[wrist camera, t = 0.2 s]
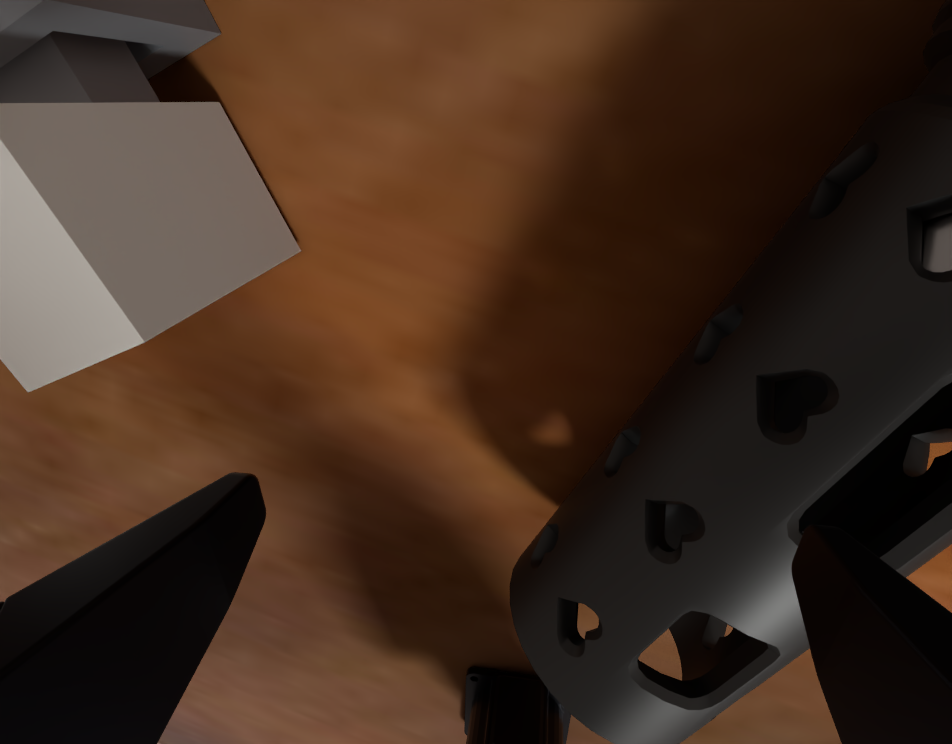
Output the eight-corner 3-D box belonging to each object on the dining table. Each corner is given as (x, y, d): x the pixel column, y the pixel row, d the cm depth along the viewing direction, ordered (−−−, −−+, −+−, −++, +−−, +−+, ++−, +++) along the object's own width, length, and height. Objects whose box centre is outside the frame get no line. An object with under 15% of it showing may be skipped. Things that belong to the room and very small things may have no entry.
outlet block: (221, 33, 19) (44, -2, 13) (84, 118, 21) (-129, 126, 15) (153, -96, 18) (-86, -211, 11) (13, 8, 20) (-259, -38, 13)
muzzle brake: (512, 495, 27) (488, 697, 18) (1020, -209, 14) (1839, -755, 5) (674, 576, 28) (729, 808, 19) (1287, -18, 15) (2384, -195, 6)
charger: (301, 251, 22) (145, 342, 14) (217, 288, 24) (28, 392, 15) (144, -33, 19) (-201, -144, 10) (55, 30, 20) (-317, -22, 11)
